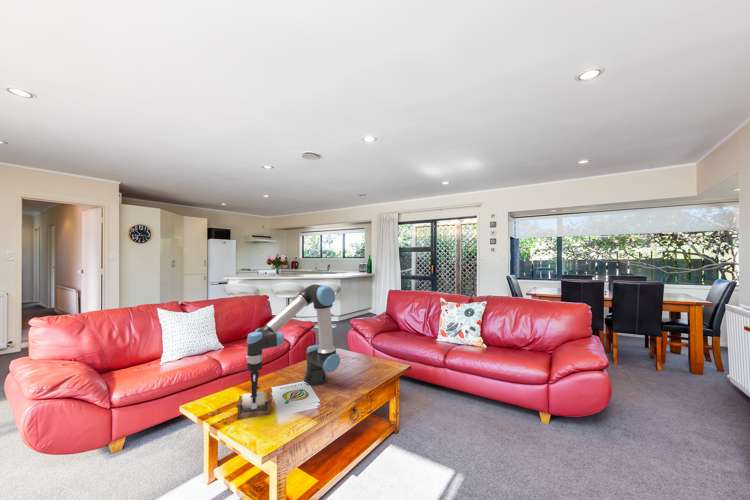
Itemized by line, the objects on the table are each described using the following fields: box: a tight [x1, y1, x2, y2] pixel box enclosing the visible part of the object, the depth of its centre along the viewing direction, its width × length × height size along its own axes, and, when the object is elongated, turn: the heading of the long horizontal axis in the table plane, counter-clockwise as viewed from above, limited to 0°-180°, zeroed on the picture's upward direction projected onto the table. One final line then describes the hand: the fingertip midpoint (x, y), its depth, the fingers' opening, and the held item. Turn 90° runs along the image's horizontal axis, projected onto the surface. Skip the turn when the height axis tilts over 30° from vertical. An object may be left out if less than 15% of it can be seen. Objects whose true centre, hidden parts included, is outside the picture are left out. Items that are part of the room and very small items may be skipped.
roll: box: [242, 391, 266, 409], centre depth 169 cm, size 11×7×7 cm, turn 109°
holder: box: [235, 392, 273, 420], centre depth 169 cm, size 18×11×7 cm, turn 109°
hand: (254, 405), depth 169 cm, fingers open, 7 cm apart
